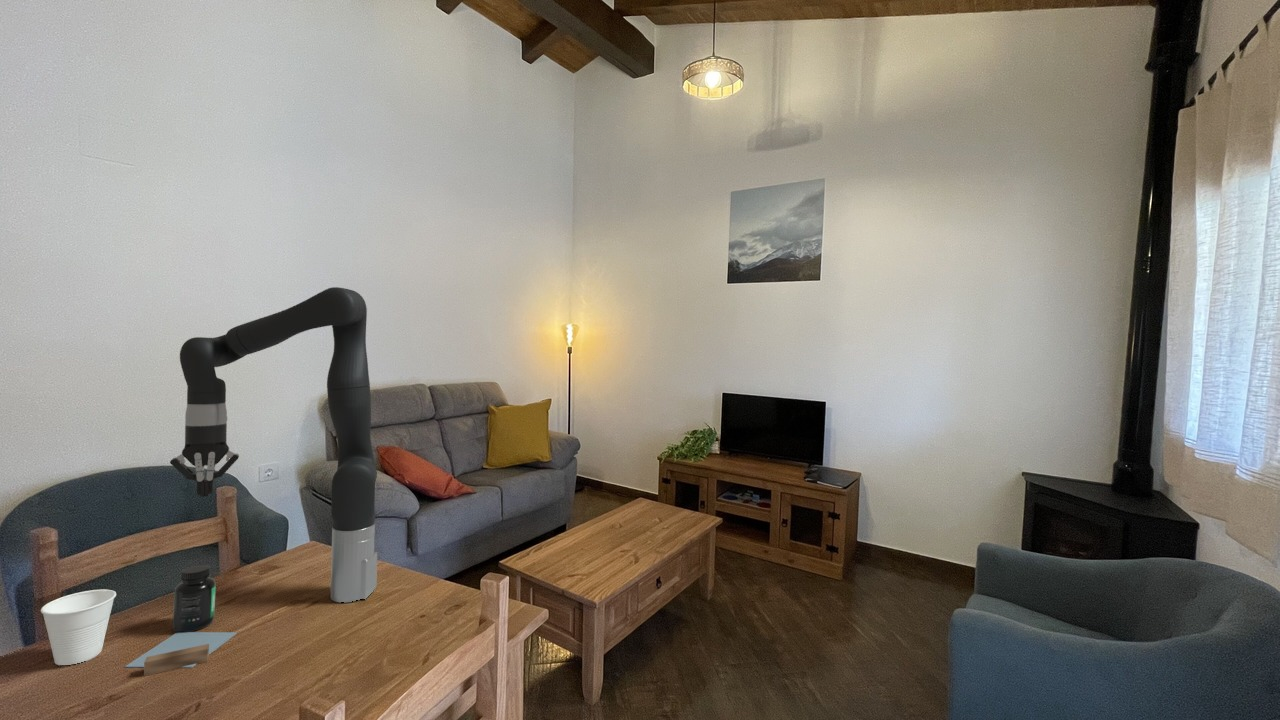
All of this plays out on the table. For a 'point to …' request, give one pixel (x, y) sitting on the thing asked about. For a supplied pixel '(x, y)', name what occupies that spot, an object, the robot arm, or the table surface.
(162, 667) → the rail
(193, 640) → the mat
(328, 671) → the table surface
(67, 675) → the table surface
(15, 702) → the table surface
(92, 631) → the cup
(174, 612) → the supplement bottle
